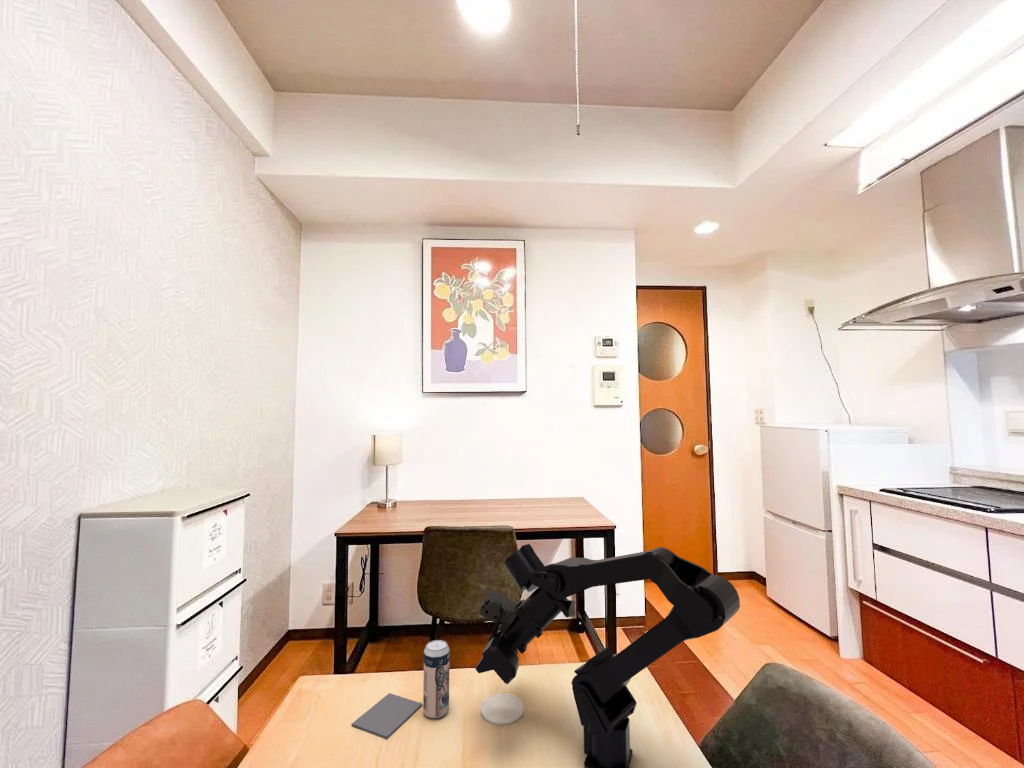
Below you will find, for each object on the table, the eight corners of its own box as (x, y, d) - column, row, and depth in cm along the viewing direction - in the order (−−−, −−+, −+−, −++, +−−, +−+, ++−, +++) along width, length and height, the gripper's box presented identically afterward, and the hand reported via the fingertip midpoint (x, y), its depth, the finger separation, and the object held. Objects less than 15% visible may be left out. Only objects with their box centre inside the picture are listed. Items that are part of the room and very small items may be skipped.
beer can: (443, 722, 80) (444, 652, 81) (418, 718, 81) (419, 650, 82) (452, 705, 85) (453, 640, 86) (428, 702, 86) (429, 637, 87)
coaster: (529, 704, 86) (529, 699, 86) (512, 730, 78) (512, 725, 78) (492, 693, 89) (492, 689, 89) (472, 717, 82) (472, 712, 82)
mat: (422, 705, 85) (422, 703, 85) (387, 739, 76) (387, 736, 76) (389, 695, 88) (389, 693, 89) (351, 726, 79) (351, 723, 80)
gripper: (513, 563, 92) (462, 614, 93) (495, 597, 74) (430, 661, 75) (552, 605, 90) (499, 657, 91) (542, 651, 72) (476, 716, 73)
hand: (477, 670), depth 83 cm, fingers closed
